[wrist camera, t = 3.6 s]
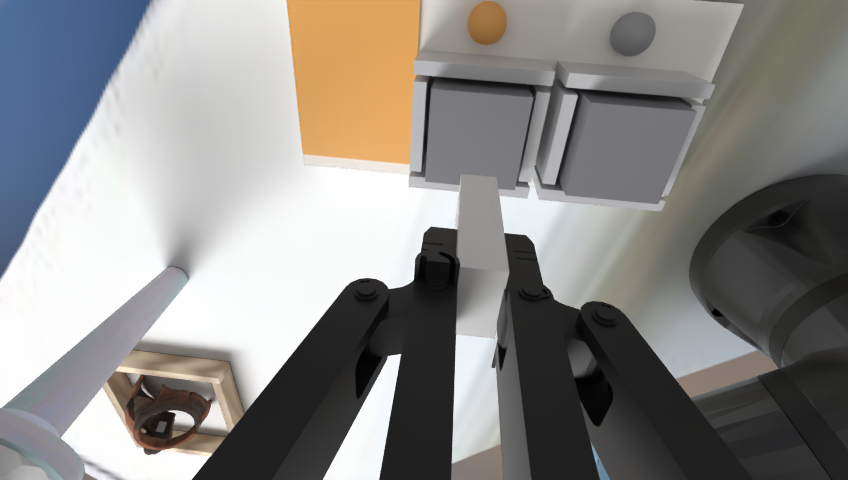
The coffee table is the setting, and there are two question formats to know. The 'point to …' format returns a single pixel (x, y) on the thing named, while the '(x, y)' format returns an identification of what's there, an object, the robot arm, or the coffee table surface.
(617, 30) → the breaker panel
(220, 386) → the mug frame
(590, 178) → the block
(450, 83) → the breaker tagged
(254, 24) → the coffee table surface
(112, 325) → the novelty light stick
